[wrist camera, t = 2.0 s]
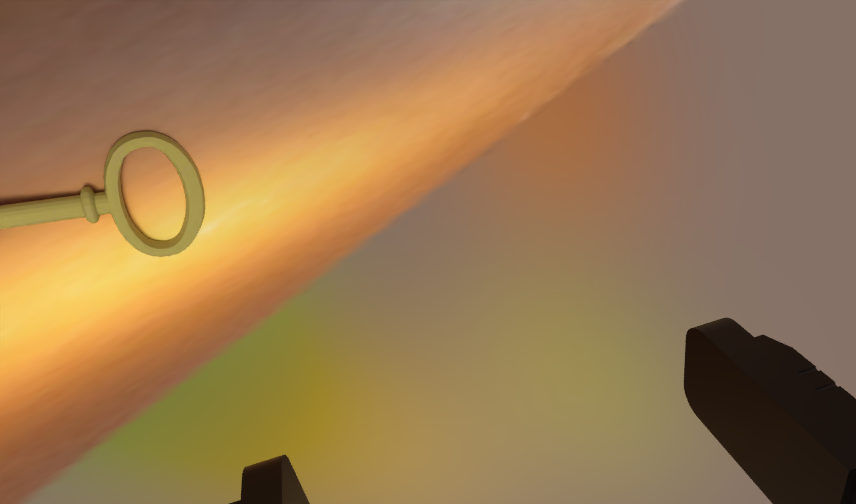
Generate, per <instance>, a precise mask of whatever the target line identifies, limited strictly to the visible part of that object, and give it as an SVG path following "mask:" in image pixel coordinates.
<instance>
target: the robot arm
mask: <svg viewBox="0 0 856 504" xmlns="http://www.w3.org/2000/svg"><path fill="white" fill-rule="evenodd" d="M684 390H685V394H686V397H687V400H688V402H689V405H690V406H691V408H692V410H693V411H694V413H695V414H696V416H697V417H698V418H699V419H700V420H701V422H702V423H703V424H704V425H705V426H706V427H707V428H708V430H709V431H710V432H711V433H712V434H713V435H714V437H715V438H716V439H717V440H718V441H719V442H720V443H721V445H722V446H723V447H724V448H725V449H726V450H727V452H728V453H729V454H730V455H731V456H732V457H733V458H734V460H735V461H736V462H737V463H738V464H739V465H740V467H741V468H742V469H743V470H744V471H745V472H746V473H747V475H748V476H749V477H750V478H751V479H752V480H753V482H754V483H755V484H756V485H757V486H758V487H759V488H760V490H761V491H762V492H763V493H764V494H765V495H766V496H767V498H768V499H769V500H770V501H771V502H772V503H773V504H856V399H855V398H854V397H853V396H852V395H850V394H849V393H848V392H847V391H845V390H844V389H843V388H842V387H840V386H839V387H837V386H836V384H835V382H834V381H833V380H832V379H831V378H829V377H828V376H827V375H826V374H824V373H823V372H822V371H818V370H817V369H816V366H815V365H813V364H812V363H811V362H810V361H808V360H807V359H806V358H804V357H803V356H802V355H801V354H800V353H798V352H797V351H796V350H795V349H793V348H792V347H790V346H787V345H785V344H783V343H781V342H778V341H776V340H774V339H772V338H769V337H767V336H765V335H760V336H758V337H753V336H752V335H751V334H750V333H748V332H747V331H746V330H745V329H744V328H743V327H741V326H740V325H739V324H738V323H736V322H735V321H734V320H732V319H730V318H723V319H720V320H716V321H713V322H710V323H707V324H703V325H700V326H697V327H694V328H691V329H689V330H688V331H687V334H686V348H685V368H684ZM241 489H242V490H241V500H240V501H236V502H233V503H230V504H309V501H308V499H307V497H306V495H305V493H304V491H303V489H302V486H301V484H300V482H299V480H298V478H297V476H296V473H295V471H294V469H293V467H292V465H291V463H290V461H289V459H288V457H287V456H286V455H282V456H279V457H275V458H272V459H269V460H266V461H263V462H260V463H256V464H253V465H250V466H247V467H245V468H244V470H243V473H242V488H241Z"/></svg>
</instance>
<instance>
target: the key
mask: <svg viewBox="0 0 856 504" xmlns="http://www.w3.org/2000/svg"><path fill="white" fill-rule="evenodd" d="M141 147H153V148H157V149H159V150H161V151H162V152H163V153H164V154H165V155H166V156H167V157H168V158H169V160H170V161H171V162H172V164H173V165H174V166H175V168H176V169H177V172H178V174H179V176H180V178H181V181H182V183H183V187H184V191H185V197H186V215H185V219H184V223H183V226H182V229H181V231H180V233H179V234H178V235H177V236H176V237H175V238H173V239H171V240H168V241H155V240H152V239H149V238H147V237H146V236H144V235H143V234H142V233H141V232H140V231H139V230H138V229H137V228H136V227H135V225H134V224H133V222H132V221H131V219H130V217H129V215H128V213H127V210H126V207H125V204H124V201H123V197H122V192H121V182H120V175H121V167H122V164H123V161H124V157H125V156H126V155H127V154H128V153H129V152H131V151H132V150H135V149H137V148H141ZM104 187H105V192H98V193H94V191H93V190H92V189H91V188H90V187H83V188H82V190H81V193H80V195H75V196H68V197H60V198H52V199H45V200H37V201H30V202H22V203H15V204H7V205H0V229H6V228H13V227H20V226H27V225H34V224H41V223H48V222H55V221H62V220H69V219H76V218H83V217H86V219H87V220H88V221H89V222H90V223H96V222H98V220H99V216H100V215H103V214H110V213H111V214H112V216H113V218H114V221H115V223H116V225H117V227H118V229H119V231H120V232H121V234H122V235H123V236H124V238H125V239H126V240H127V241H128V242H129V243H130V244H131V245H132V246H133V247H134V248H136V249H137V250H138V251H140V252H142V253H145V254H148V255H151V256H158V257H163V256H171V255H174V254H178V253H180V252H181V251H183V250H185V249H186V248H187V247H188V246H189V245H190V244H191V243H192V242H193V240H194V239H195V237H196V235H197V233H198V231H199V229H200V227H201V225H202V222H203V218H204V214H205V196H204V188H203V184H202V180H201V177H200V174H199V171H198V169H197V167H196V165H195V163H194V161H193V160H192V158H191V157H190V156H189V154H188V153H187V152H186V151H185V150H184V149H183V148H182V147H181V146H180V145H179V144H178V143H177V142H175V141H174V140H173V139H171V138H169V137H167V136H165V135H163V134H160V133H157V132H153V131H141V132H135V133H131V134H129V135H126V136H124V137H123V138H121V139H120V140H119V141H117V143H116V144H115V145H114V146H113V147H112V148H111V150H110V152H109V155H108V157H107V160H106V163H105V167H104Z"/></svg>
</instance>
